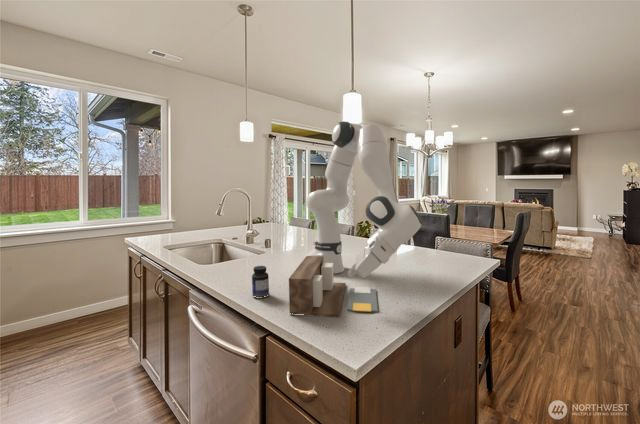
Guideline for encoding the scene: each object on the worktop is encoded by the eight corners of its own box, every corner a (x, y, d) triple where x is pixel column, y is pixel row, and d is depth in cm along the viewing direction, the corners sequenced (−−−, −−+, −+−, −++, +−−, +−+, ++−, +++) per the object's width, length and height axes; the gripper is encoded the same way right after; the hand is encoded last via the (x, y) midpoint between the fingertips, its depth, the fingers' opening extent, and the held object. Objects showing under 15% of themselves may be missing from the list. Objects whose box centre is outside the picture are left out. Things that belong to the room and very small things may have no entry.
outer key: (322, 300, 106) (322, 275, 105) (320, 307, 100) (319, 280, 99) (311, 299, 106) (310, 274, 106) (308, 306, 101) (307, 280, 100)
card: (375, 289, 119) (375, 287, 119) (377, 313, 97) (377, 311, 97) (349, 288, 120) (349, 286, 120) (346, 312, 99) (346, 309, 99)
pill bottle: (253, 293, 117) (252, 265, 116) (269, 292, 118) (268, 264, 117) (251, 299, 111) (250, 270, 110) (268, 298, 112) (267, 269, 111)
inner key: (333, 285, 121) (333, 263, 120) (331, 290, 115) (331, 267, 114) (323, 284, 122) (323, 262, 121) (321, 290, 116) (321, 267, 115)
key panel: (345, 285, 125) (345, 256, 123) (339, 317, 95) (338, 280, 94) (307, 283, 127) (306, 255, 126) (289, 314, 98) (288, 278, 96)
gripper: (372, 234, 108) (344, 259, 111) (373, 246, 88) (339, 277, 91) (384, 246, 108) (356, 272, 111) (388, 262, 88) (354, 292, 91)
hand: (349, 274), depth 101 cm, fingers closed
